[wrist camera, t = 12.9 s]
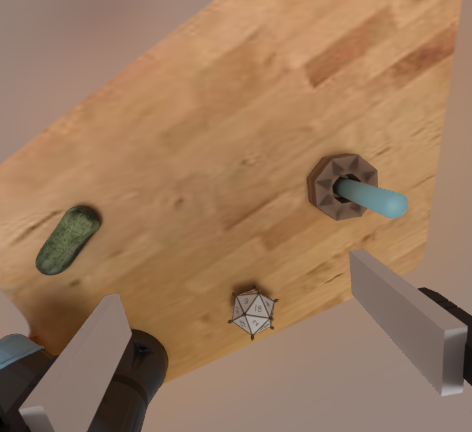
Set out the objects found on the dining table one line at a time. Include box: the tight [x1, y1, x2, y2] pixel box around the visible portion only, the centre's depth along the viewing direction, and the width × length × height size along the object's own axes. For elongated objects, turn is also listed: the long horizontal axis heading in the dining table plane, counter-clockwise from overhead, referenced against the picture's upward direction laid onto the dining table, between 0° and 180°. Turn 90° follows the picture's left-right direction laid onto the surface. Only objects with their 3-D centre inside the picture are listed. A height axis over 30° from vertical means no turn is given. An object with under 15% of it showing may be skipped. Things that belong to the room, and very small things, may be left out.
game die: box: [228, 285, 279, 341], centre depth 47 cm, size 9×8×10 cm
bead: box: [307, 154, 378, 221], centre depth 44 cm, size 10×10×4 cm
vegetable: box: [36, 206, 100, 275], centre depth 44 cm, size 14×5×5 cm, turn 141°
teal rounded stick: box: [332, 176, 408, 219], centre depth 39 cm, size 3×3×16 cm
